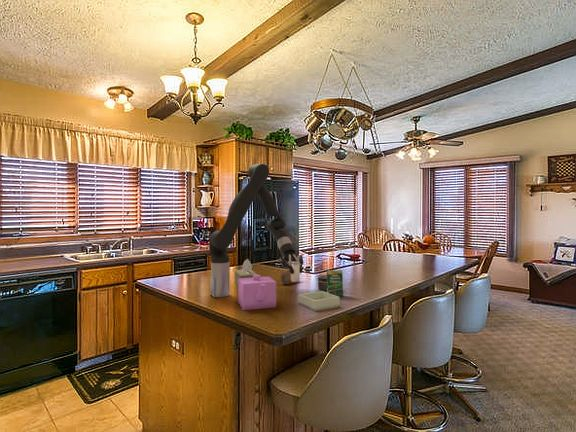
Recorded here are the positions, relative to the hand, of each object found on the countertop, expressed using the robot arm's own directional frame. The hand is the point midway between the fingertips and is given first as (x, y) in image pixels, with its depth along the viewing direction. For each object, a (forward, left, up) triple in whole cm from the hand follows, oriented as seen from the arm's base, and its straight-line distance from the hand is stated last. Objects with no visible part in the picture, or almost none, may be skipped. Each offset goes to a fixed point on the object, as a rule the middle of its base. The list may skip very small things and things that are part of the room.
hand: (297, 272), depth 178 cm
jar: (+20, +2, -12) cm, 24 cm away
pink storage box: (-25, -6, -12) cm, 29 cm away
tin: (+12, +29, -12) cm, 34 cm away
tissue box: (-13, +36, -12) cm, 40 cm away
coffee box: (+16, -10, -12) cm, 23 cm away
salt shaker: (0, +2, -5) cm, 5 cm away
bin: (-1, -20, -12) cm, 24 cm away
